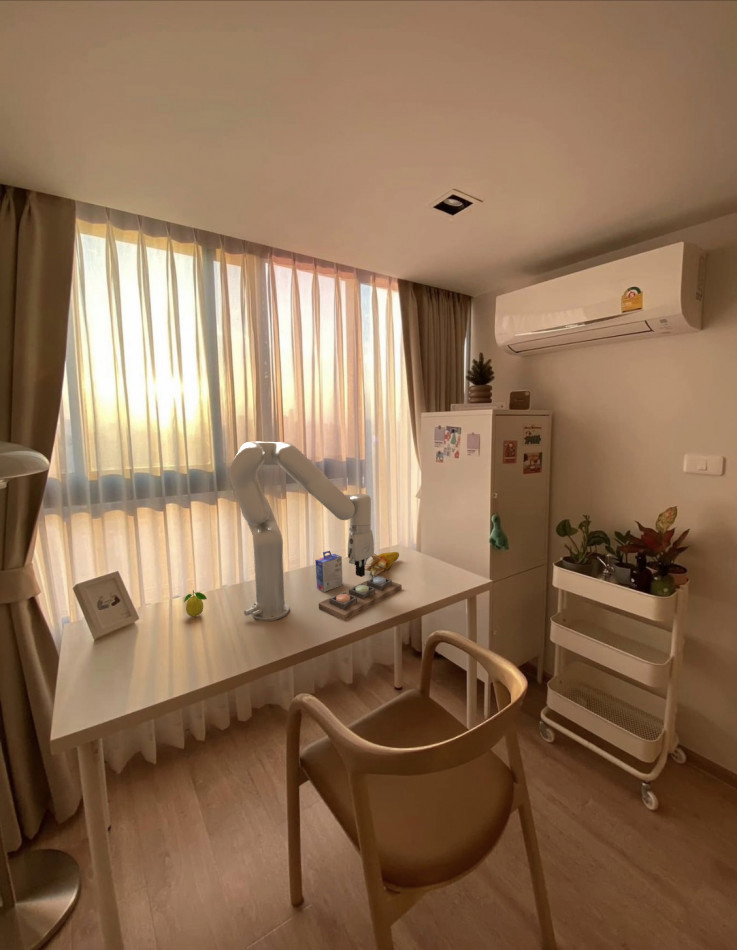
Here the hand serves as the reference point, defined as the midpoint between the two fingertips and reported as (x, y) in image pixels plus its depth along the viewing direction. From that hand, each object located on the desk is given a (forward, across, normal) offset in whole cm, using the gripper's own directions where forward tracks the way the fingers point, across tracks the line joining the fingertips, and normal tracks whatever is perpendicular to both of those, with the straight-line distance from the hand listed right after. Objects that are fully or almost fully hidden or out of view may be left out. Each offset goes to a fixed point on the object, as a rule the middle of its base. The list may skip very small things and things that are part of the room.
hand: (360, 575), depth 152 cm
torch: (+9, +28, +11) cm, 32 cm away
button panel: (+9, +1, 0) cm, 9 cm away
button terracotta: (+7, -9, -1) cm, 12 cm away
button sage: (+7, +1, 0) cm, 7 cm away
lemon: (+10, -48, +33) cm, 59 cm away
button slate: (+7, +11, 0) cm, 13 cm away
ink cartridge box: (+10, 0, +16) cm, 19 cm away
